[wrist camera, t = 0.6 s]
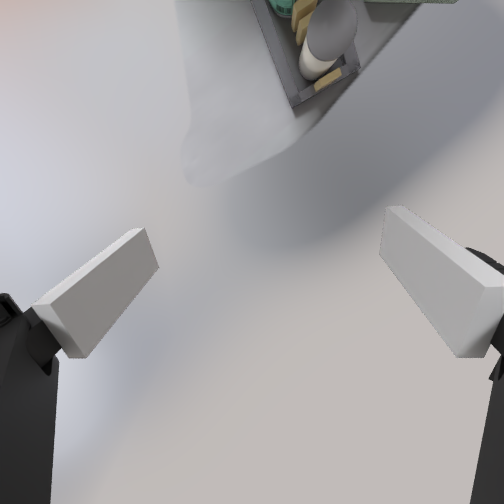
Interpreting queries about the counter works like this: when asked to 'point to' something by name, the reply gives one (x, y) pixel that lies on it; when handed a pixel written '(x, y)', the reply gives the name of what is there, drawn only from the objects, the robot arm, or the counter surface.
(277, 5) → the spray can
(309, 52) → the fuse
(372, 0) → the tray
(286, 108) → the counter surface
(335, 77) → the fuse frame
